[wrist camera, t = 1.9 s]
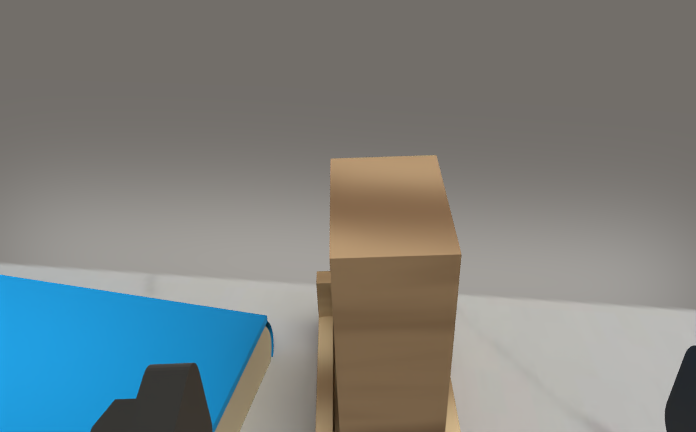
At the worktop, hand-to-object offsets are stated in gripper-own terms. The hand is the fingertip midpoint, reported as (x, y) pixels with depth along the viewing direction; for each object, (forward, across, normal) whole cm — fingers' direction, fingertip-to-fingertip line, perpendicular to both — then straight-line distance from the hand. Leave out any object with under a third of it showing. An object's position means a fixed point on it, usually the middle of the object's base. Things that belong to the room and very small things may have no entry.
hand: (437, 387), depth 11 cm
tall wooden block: (+11, 0, +20) cm, 23 cm away
